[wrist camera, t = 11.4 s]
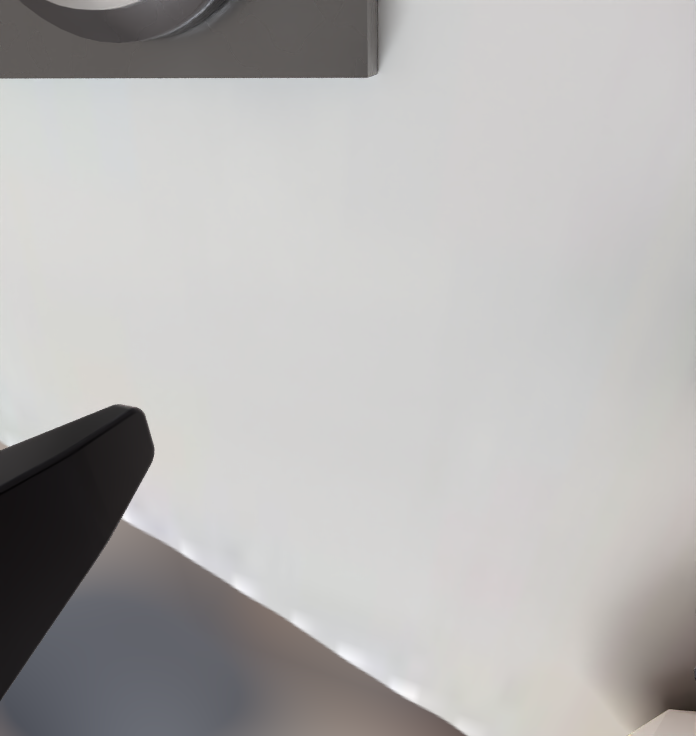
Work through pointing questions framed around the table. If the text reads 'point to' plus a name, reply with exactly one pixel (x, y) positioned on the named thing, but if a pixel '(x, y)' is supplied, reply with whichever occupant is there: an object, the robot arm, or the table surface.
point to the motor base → (188, 38)
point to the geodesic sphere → (669, 724)
